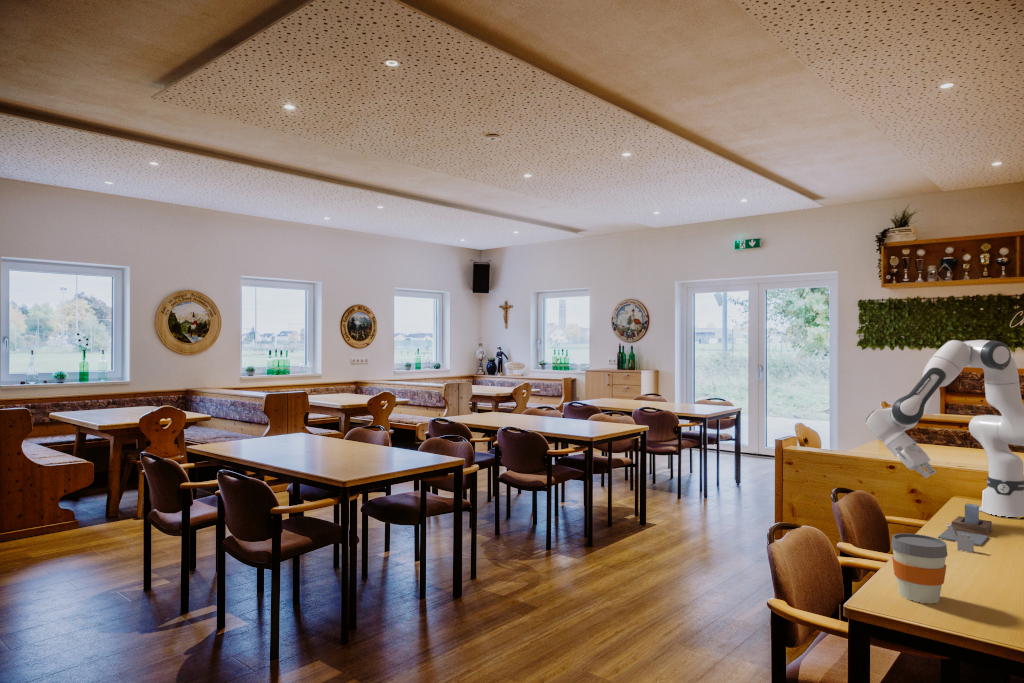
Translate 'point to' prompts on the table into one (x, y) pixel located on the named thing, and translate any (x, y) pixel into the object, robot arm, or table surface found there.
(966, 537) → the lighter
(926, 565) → the reusable coffee cup
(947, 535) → the rubber mat
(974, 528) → the pocket holder
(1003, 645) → the table surface
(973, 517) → the peg
